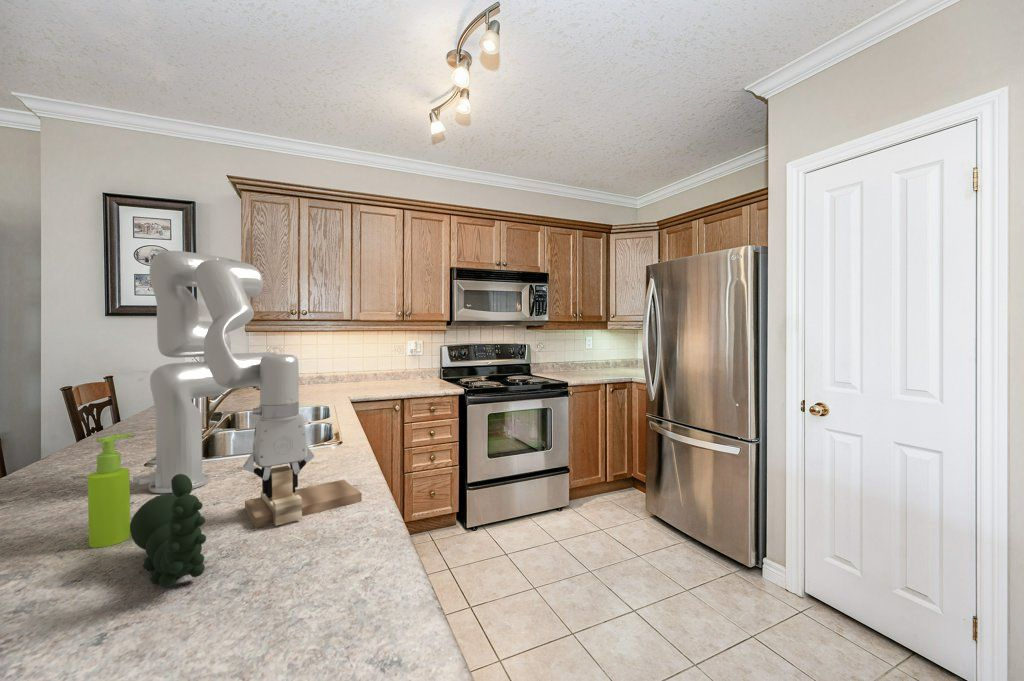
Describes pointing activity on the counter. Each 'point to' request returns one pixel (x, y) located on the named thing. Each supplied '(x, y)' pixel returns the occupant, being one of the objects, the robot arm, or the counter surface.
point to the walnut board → (308, 501)
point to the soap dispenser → (109, 497)
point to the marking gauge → (283, 497)
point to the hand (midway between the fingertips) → (280, 492)
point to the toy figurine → (171, 533)
